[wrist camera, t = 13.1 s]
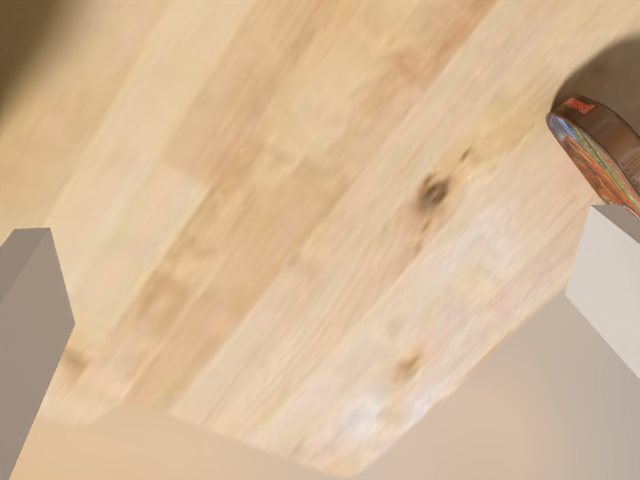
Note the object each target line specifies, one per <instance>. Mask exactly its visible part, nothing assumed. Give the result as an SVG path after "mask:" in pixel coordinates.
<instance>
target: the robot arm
mask: <svg viewBox="0 0 640 480" xmlns="http://www.w3.org/2000/svg"><path fill="white" fill-rule="evenodd" d="M565 295H566V296H567V297H568V298H569V299H570V301H571V302H572V303H573V304H574V305H575V306H576V307H577V309H578V310H579V311H580V312H581V313H582V314H583V315H584V317H585V318H586V319H587V320H588V321H589V322H590V323H591V324H592V326H593V327H594V328H595V329H596V330H597V331H598V332H599V334H600V335H601V336H602V337H603V338H604V339H605V340H606V341H607V343H608V344H609V345H610V346H611V347H612V348H613V349H614V350H615V352H616V353H617V354H618V355H619V356H620V357H621V358H622V359H623V361H624V362H625V363H626V364H627V365H628V366H629V367H630V369H631V370H632V371H633V372H634V373H635V374H636V375H637V377H638V378H639V379H640V219H638V218H637V217H635V216H634V215H633V214H631V213H630V212H629V211H627V210H626V209H624V208H623V207H622V206H620V205H619V204H610V205H591V206H590V209H589V213H588V216H587V219H586V223H585V226H584V230H583V233H582V236H581V240H580V243H579V247H578V250H577V254H576V257H575V260H574V264H573V267H572V271H571V274H570V277H569V281H568V284H567V288H566V291H565ZM74 325H75V321H74V318H73V314H72V310H71V306H70V302H69V298H68V295H67V291H66V287H65V283H64V279H63V275H62V272H61V268H60V264H59V260H58V256H57V253H56V249H55V245H54V241H53V237H52V233H51V230H50V228H31V229H14V230H13V232H12V233H11V234H10V236H9V237H8V238H7V240H6V241H5V242H4V243H3V245H2V246H1V247H0V480H9V477H10V475H11V473H12V471H13V468H14V466H15V464H16V461H17V459H18V457H19V454H20V452H21V450H22V447H23V445H24V442H25V440H26V437H27V435H28V433H29V431H30V428H31V426H32V424H33V421H34V419H35V417H36V414H37V412H38V410H39V407H40V405H41V403H42V400H43V398H44V396H45V393H46V391H47V389H48V386H49V384H50V382H51V379H52V377H53V375H54V372H55V370H56V368H57V365H58V363H59V361H60V358H61V356H62V354H63V351H64V349H65V346H66V344H67V342H68V339H69V337H70V335H71V332H72V330H73V328H74Z"/></svg>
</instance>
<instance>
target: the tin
mask: <svg viewBox="0 0 640 480" xmlns="http://www.w3.org/2000/svg"><path fill="white" fill-rule="evenodd" d="M546 122H547V125H548V127H549V129H550V131H551V132H552V134H553V135H554V137H555V138H556V139H557V141H558V142H559V144H560V145H561V146H562V147H563V149H564V150H565V151H566V153H567V154H568V155H569V157H570V158H571V159H572V161H573V162H574V163H575V165H576V166H577V167H578V169H579V170H580V171H581V173H582V174H583V175H584V177H585V178H586V179H587V181H588V182H589V183H590V185H591V186H592V187H593V189H594V190H595V191H596V193H597V194H598V195H599V196H600V198H601V199H602V200H603V201H604V202H605V203H606V204H607V205H610V204H619V205H620V206H622V207H623V208H624V209H626V210H627V211H629V212H630V213H631V214H633V215H634V216H635V217H637V218H638V219H640V136H639V135H638V134H637V133H636V132H635V131H634V130H633V129H632V128H631V126H630V125H629V124H628V123H627V122H625V121H624V120H623V119H622V118H621V117H620V116H619V115H618V114H616V113H615V112H614V111H612V110H611V109H610V108H608V107H607V106H605V105H604V104H601V103H599V102H596V101H593V100H591V99H588V98H586V97H583V96H580V95H577V94H573V95H571V96H570V97H569V98H567V99H566V100H565V101H564V102H563V103H561V104H560V105H559V106H558V107H557V108H556V109H555V110H554V111H552V112H550V113H548V114H547V115H546Z"/></svg>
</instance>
